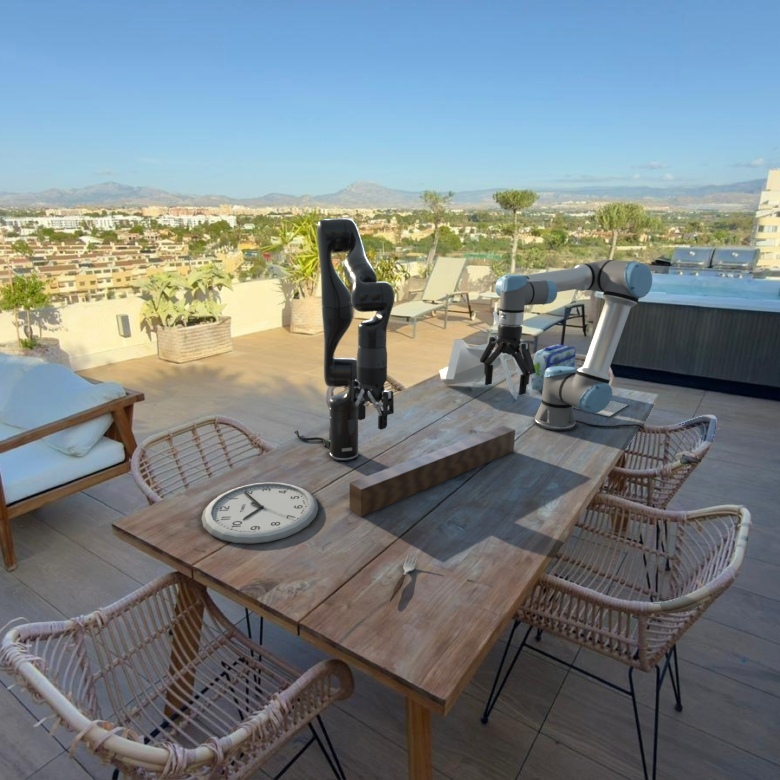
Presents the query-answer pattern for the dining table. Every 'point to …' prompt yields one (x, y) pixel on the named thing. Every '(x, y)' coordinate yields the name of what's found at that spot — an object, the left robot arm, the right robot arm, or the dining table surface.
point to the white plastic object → (475, 364)
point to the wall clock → (259, 513)
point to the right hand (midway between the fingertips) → (504, 389)
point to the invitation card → (611, 408)
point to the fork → (407, 568)
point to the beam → (428, 470)
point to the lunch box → (551, 362)
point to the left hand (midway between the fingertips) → (371, 423)
